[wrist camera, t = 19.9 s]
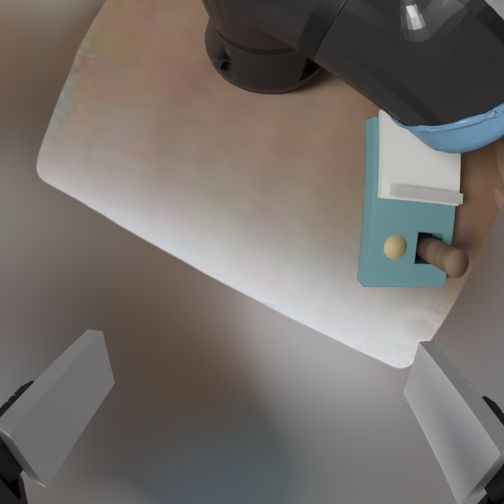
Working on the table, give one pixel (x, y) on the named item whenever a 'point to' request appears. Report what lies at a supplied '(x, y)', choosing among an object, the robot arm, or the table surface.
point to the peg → (442, 255)
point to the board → (397, 231)
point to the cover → (415, 168)
